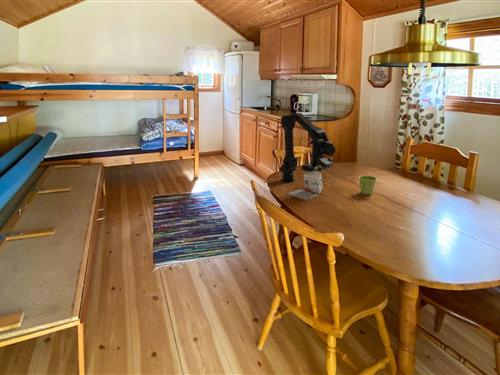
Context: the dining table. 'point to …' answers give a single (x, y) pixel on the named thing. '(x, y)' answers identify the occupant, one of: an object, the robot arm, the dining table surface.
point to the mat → (302, 194)
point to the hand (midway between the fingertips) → (316, 180)
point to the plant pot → (367, 184)
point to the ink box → (313, 181)
